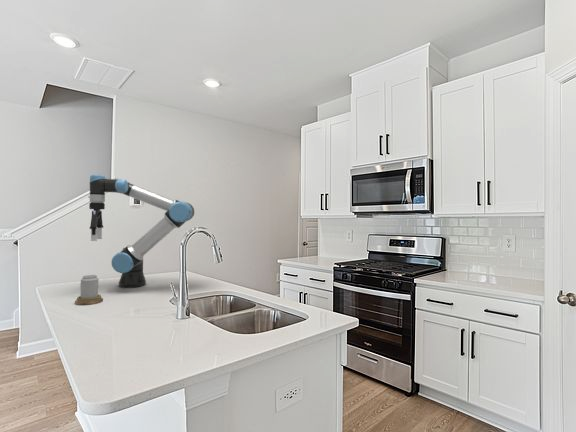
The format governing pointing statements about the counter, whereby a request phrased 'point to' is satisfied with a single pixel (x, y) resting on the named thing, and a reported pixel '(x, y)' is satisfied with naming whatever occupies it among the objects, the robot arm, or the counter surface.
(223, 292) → the counter surface
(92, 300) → the seat
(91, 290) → the can
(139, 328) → the counter surface
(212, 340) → the counter surface
